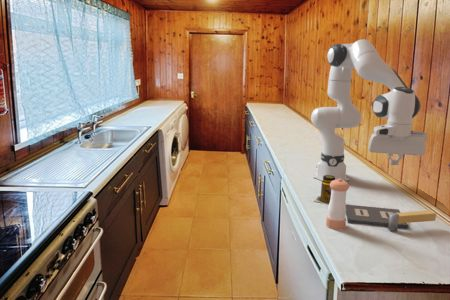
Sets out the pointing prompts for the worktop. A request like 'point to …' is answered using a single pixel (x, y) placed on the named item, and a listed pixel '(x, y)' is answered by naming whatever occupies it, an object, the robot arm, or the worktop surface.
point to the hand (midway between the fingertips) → (394, 164)
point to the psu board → (371, 215)
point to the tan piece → (410, 218)
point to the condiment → (325, 190)
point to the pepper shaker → (337, 205)
